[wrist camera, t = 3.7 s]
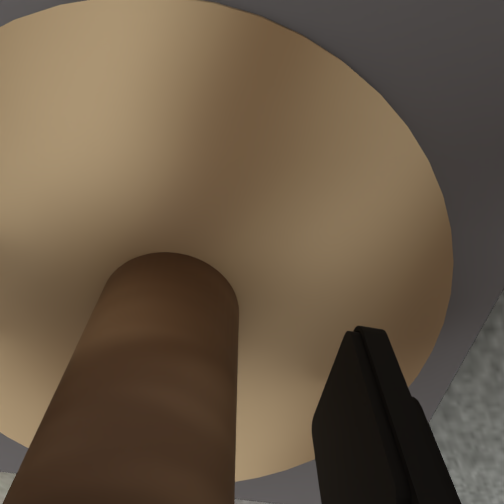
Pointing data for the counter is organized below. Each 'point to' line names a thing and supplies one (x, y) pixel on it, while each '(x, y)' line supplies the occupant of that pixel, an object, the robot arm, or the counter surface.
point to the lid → (194, 246)
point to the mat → (429, 139)
